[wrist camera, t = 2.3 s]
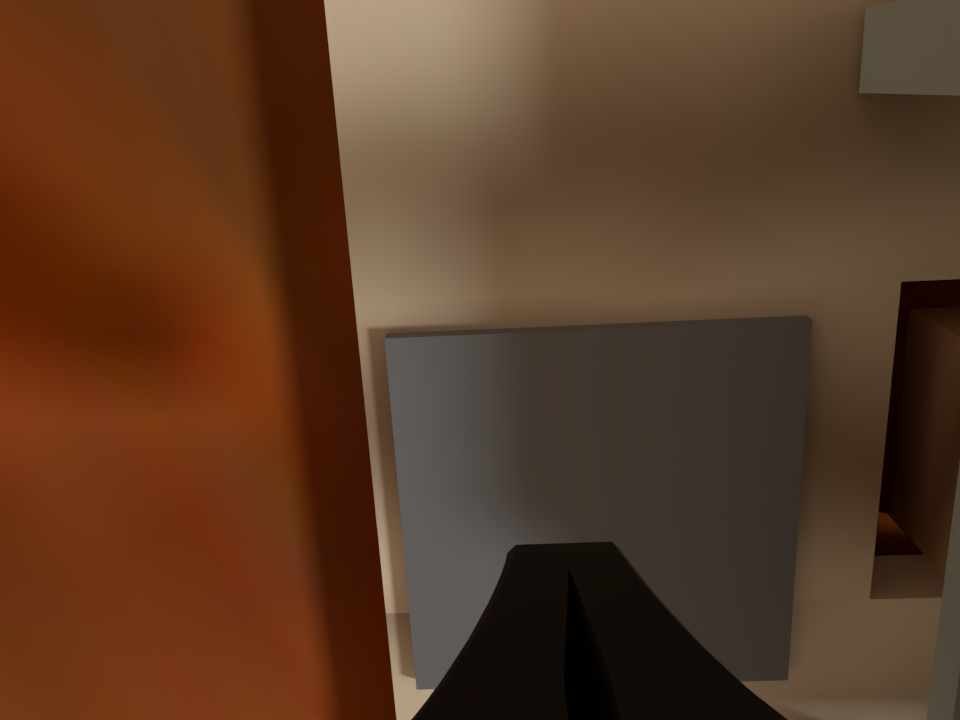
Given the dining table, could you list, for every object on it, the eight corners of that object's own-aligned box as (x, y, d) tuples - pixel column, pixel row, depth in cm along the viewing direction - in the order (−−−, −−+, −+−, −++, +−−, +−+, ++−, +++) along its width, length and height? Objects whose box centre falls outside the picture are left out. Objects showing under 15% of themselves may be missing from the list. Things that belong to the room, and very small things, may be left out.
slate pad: (782, 670, 16) (788, 680, 16) (417, 679, 17) (416, 689, 16) (806, 315, 14) (812, 320, 14) (387, 333, 14) (384, 338, 14)
